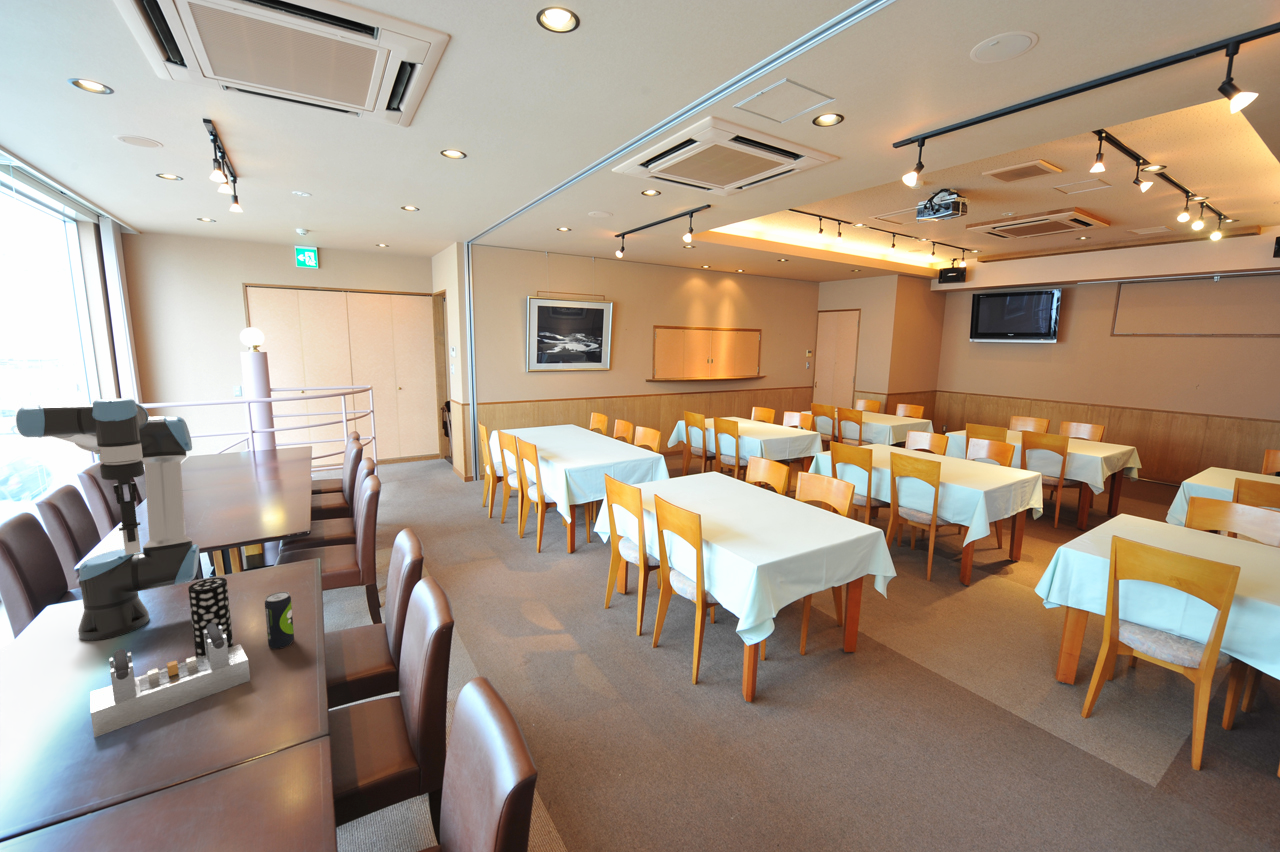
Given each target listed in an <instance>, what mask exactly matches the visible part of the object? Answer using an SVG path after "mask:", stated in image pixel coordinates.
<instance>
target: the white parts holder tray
mask: <svg viewBox="0 0 1280 852" xmlns="http://www.w3.org/2000/svg"><path fill="white" fill-rule="evenodd" d="M218 630H219V632H220V635H221V637H222V639H223V641H224V646H223V647H222V648H220V649H216V648H215V647H214V645H213V643H212V641H211V638H210V636H209V634H208V633H207V630H204V631H203V632H204V641H205V651H206V655H205V656H202V657H196V655H193V656H191V657H187V658H185V661H184V662H180V663H178V672H179V673H178V674H175V675H172V676H169V675H168V669H167V667H165V668H161V669H158V667H156V668H152V669H151V670H150V669H149V670H147V673H145V674H143V675H140V676H137V677H135V670H134V665H133V664H134V663H133V657H132V652H131V651H129V652H126V655H127V664H128V671H129V674H128V676H127V677H126V678H125V679H122V680H119V679H117V678H116V670H115V660H114V656H113V657H112V656H111V657H109V659H108V661H109V667H110V668H109V669H110V671H109V672H110V678H111V679H110V680H111V685H108V686H106V687H101V688H99V689H95V690H92V691H90V694H89V695H90V716H91V723H92V730H93V737H94V738H97V737H100V736H102V735H105V734H108V733H110V732H114V731H116V730H119V729H122V728H125V727H127V726H129V725H130V726H131V725H133V724H136V723H137V722H141V721H144V720H146V719H149V718H152V717H154V716H156V715H160V714H162V713H166V712H168V711H171V710H174V709H176V708H179V707H181V706H184V705H187V704H190V703H193V702H195V701H199V700H202V699H203V698H207V697H209V696H212V695H214V694H218V693H220V692H223V691H226V690H228V689H231V688H233V687H236V686H239V685H241V684H242V685H243V684H245V683H247V682H250V681H251V675H250V667H249V658H248V657H247V655H246V652H245V651H244V649H243V647H242V645H241V644H240V643H239V644H236V645H233V647H230V648H228V646H227V637H226V635H225V634H224V635H223V630H222V626H218Z"/></svg>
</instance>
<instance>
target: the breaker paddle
mask: <svg viewBox="0 0 1280 852" xmlns="http://www.w3.org/2000/svg"><path fill="white" fill-rule="evenodd" d="M178 664H179V663H178V661H177V660H175V659H174V660H172V661H169V662H166V668H167V669H168V675H169V676H172V675H175V674H178V673H179V672H178Z"/></svg>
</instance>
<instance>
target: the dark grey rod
mask: <svg viewBox="0 0 1280 852" xmlns="http://www.w3.org/2000/svg"><path fill="white" fill-rule="evenodd" d="M206 629H207V631H208V633H209V636H210V638H211V641H212V643H213V645H214V647H215V648H216V649H220V648H222V647H223V646H224V641H223V639H222V637H221V635H220V632H219V630H218V628H217V626H216V624H215V623H209V624H208V625H207V626H206Z"/></svg>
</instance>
